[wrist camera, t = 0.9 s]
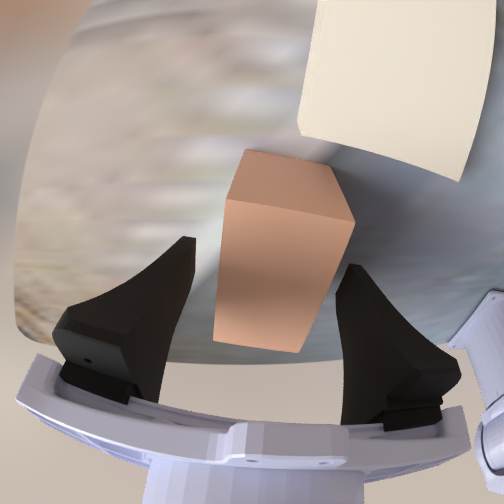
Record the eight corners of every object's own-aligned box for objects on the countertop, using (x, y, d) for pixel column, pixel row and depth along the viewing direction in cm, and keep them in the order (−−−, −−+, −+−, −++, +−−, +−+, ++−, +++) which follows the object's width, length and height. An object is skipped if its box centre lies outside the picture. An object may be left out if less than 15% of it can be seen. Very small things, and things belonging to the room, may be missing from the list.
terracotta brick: (329, 165, 14) (355, 222, 9) (296, 277, 19) (298, 352, 14) (245, 149, 14) (225, 198, 9) (229, 266, 19) (213, 340, 14)
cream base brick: (461, -14, 6) (495, -21, 3) (428, 157, 13) (458, 182, 10) (327, -69, 6) (339, -97, 3) (296, 120, 13) (301, 135, 10)
